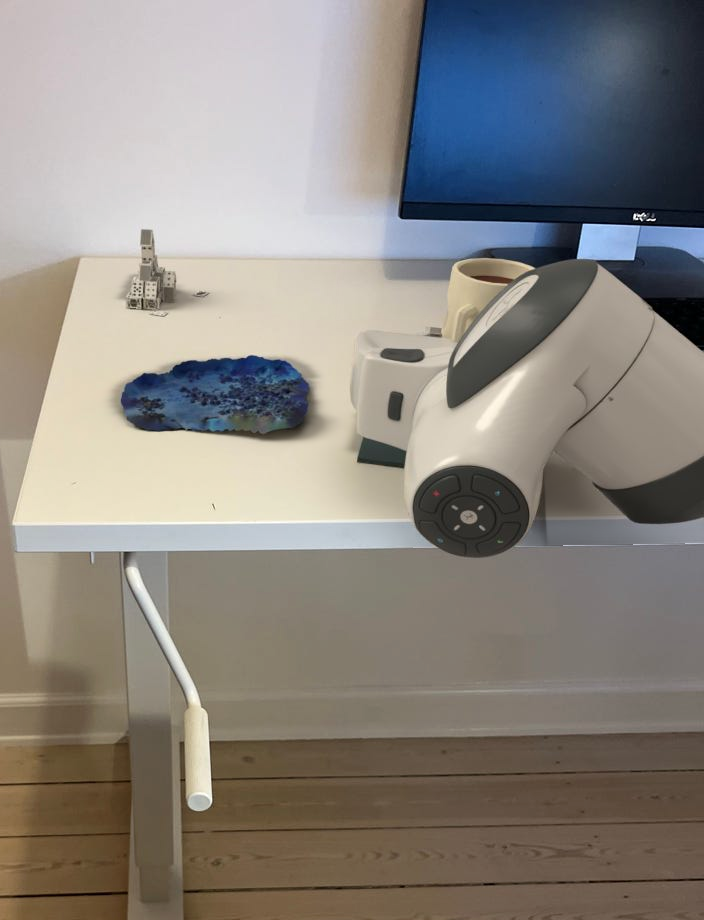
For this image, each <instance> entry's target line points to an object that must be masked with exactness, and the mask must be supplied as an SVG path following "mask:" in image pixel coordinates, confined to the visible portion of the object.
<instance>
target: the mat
mask: <svg viewBox="0 0 704 920" xmlns="http://www.w3.org/2000/svg"><path fill="white" fill-rule="evenodd" d="M406 452H407V451H404V450H402V449H399V448H397V447H394V446H391V445H388V444H385V443H382V442H379V441H375V440H372V439H368V438H365V437H362V440H361V442H360V447H359V450H358V454H357V458H356V463H363V464H372V465H380V466H389V467H395V468H403V469H404V466H405V459H406Z"/></svg>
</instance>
